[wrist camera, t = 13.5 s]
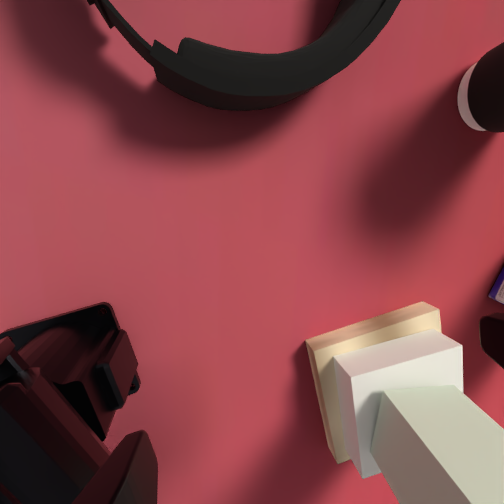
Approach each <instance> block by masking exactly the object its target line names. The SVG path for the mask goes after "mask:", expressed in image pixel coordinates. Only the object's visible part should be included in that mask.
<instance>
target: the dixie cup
mask: <svg viewBox="0 0 504 504" xmlns="http://www.w3.org/2000/svg"><path fill="white" fill-rule="evenodd" d="M457 100H458V109H459V112H460V115H461V117H462V119H463V120H464V122H465V123H466V124H467V125H468V126H469V127H471V128H473V129H475V130H478V131H490V132H504V42H503V43H501V44H500V45H498V46H497V47H495V48H493V49H492V50H490V51H489V52H487V53H486V54H485V55H484V56H483V57H482V58H481V59H480V60H479V61H478V62H477V63H475V64H474V65H472V66H471V67H470V68H469V69H468V70H467V72H466V73H465V75H464V76H463V78H462V80H461V83H460V86H459V90H458V98H457Z"/></svg>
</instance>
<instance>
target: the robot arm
mask: <svg viewBox="0 0 504 504" xmlns="http://www.w3.org/2000/svg"><path fill="white" fill-rule="evenodd" d="M100 308H104V309H106V311H107V313H101V311H100ZM479 331H480V345H481V347H482V349H483V351H484V352H485V353H486V354H487V355H488V356H489V357H491V358H492V359H493V360H494V361H495V362H496V363H497V364H499V365H500V366H501V367H502V368H503V369H504V313H491V314H488V315H485V316H483V317H481V318H480V320H479ZM8 336H10V337H11V338H12V340H10V339H9V337H8ZM137 366H138V362H137V359H136V356H135V354H134V351H133V348H132V346H131V343H130V341H129V338H128V335H127V333H126V331H124V330H123V329H120V326H119V324H118V321H117V318H116V316H115V313H114V310H113V308H112V306H111V305H110V304H109V303H106V302H101V303H98V304H94V305H91V306H87V307H84V308H80V309H77V310H73V311H70V312H66V313H63V314H59V315H56V316H53V317H49V318H46V319H42V320H39V321H35V322H32V323H28V324H25V325H21V326H18V327H14V328H11V329H8V330H6V331H4V332H3V333H1V334H0V504H157V485H158V464H157V458H156V455H155V452H154V450H153V447H152V444H151V442H150V439H149V436H148V434H147V432H146V431H145V430H140V431H137V432H134V433H131V434H128V435H126V436H125V437H124V438H123V440H122V441H121V442H120V443H119V445H118V446H117V447H116V448H115V450H114V451H113V452H112V453H111V452H110V451H109V450H108V448H107V447H106V446H105V445H104V444H103V441H104V440H105V438H106V435H107V433H108V430H109V427H110V425H111V422H112V419H113V416H114V414H115V411H116V410H118V409H121V408H122V407H123V405H124V404H125V401H126V399H127V396H128V395H130V394H133V393H135V392H137V391H138V390H139V387H140V384H141V382H140V379H139V376H138V373H137V371H136V369H137ZM132 383H133V384H135V386H134V387H132V386H131V384H132Z"/></svg>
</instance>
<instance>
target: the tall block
mask: <svg viewBox="0 0 504 504" xmlns="http://www.w3.org/2000/svg"><path fill="white" fill-rule="evenodd" d="M370 453H371V454H372V456H373V458H374V460H375V461H376V463H377V465H378V467H379V468H380V470H381V472H382V474H383V475H384V477H385V479H386V481H387V482H388V484H389V486H390V488H391V489H392V491H393V493H394V495H395V496H396V498H397V500H398V502H399V503H400V504H504V429H503V428H502V427H501V426H499V425H498V424H497V423H496V422H495V421H494V420H493V419H492V418H490V417H489V416H488V415H487V414H486V413H485V412H484V411H483V410H481V409H480V408H479V407H478V406H477V405H476V404H475V403H474V402H472V401H471V400H470V399H469V398H468V397H467V396H466V395H465V394H464V393H462V392H461V391H460V390H459V389H458V388H457V387H456V386H455V385H444V386H431V387H419V388H407V389H395V390H383V393H382V398H381V402H380V407H379V412H378V417H377V422H376V426H375V431H374V436H373V441H372V446H371V450H370Z"/></svg>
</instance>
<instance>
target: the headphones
mask: <svg viewBox="0 0 504 504" xmlns="http://www.w3.org/2000/svg"><path fill="white" fill-rule="evenodd" d="M400 1H401V0H341V1H340V3H339V6H338V8H337V10H336V12H335V14H334V17H333V19H332V20H331V22H330V23H329V25H328V26H327V28H326V30H325V31H324V33H323V34H322V35H321V36H320V37H319V39H318V40H316V41H314V42H313V43H311V44H309V45H307V46H304V47H302V48H299V49H296V50H294V51H289V52H284V53H279V54H259V53H250V52H242V51H233V50H228V49H225V48H221V47H217V46H213V45H210V44H206V43H203V42H200V41H198V40H195V39H192V38H186V37H185V38H184V39H182V40H181V42H180V44H179V48H178V52H177V54H176V53H175V52H173V51H172V50H170V49H169V48H167V47H166V46H164V45H163V44H161V43H160V42H158V41H157V40H154V43H153V46H151V45H149V44H148V43H147V42H146V41H145V40H144V39H143V38H142V37H141V36H140V35H139V34H138V33H137V32H136V31H135V30H134V29H133V28H132V27H131V26H130V25H129V24H128V23H127V21H126V20H125V19H124V18H123V17H122V16H121V15H120V14H119V12H118V11H117V10H116V9H115V8H114V6H113V5H112V4H111V3H110V2H109V0H87V2H88V3H89V5H92V4H94V3H95V5H96V7H97V8H98V10H99V11H100V13H101V15H102V16H103V18H104V19H105V21H106V23H107V24H108V26H109V28H110V29H111V28H112V27H114V26H115V27H116V28H117V29H118V31H119V32H120V33H121V34H122V35H123V36H124V38H125V39H126V40H127V41H128V42H129V44H130V45H131V46H132V47H133V48H134V49H135V50H136V51H137V52H138V53H139V54H140V55H141V56H142V57H143V58H144V59H145V60H146V61H147V62H148V63H149V64H150V65H151V66H153V67H154V71H155V74H156V77H157V81H159V82H160V83H162V84H163V85H165V86H166V87H168V88H169V89H171V90H172V91H174V92H176V93H178V94H180V95H182V96H184V97H186V98H188V99H190V100H193V101H195V102H198V103H200V104H203V105H205V106H208V107H212V108H216V109H222V110H236V111H249V110H260V109H265V108H270V107H274V106H277V105H279V104H282V103H285V102H288V101H290V100H292V99H294V98H296V97H298V96H300V95H301V94H303V93H305V92H307V91H308V90H310V89H312V88H314V87H315V86H317V85H319V84H321V83H323V82H324V81H326V80H328V79H329V78H331V77H332V76H334V75H335V74H337V73H338V72H340V71H341V70H343V69H344V68H346V67H347V66H348V65H349V64H351V63H352V62H353V61H354V60H355V59H356V58H357V57H358V56H359V55H360V54H361V53H362V52H363V51H364V50H365V49H366V48H367V47H368V46H369V45H370V44H371V43H372V42H373V41H374V39H375V38H376V37H377V35H378V34H379V33H380V32H381V30H382V29H383V28H384V26H385V25H386V24H387V23H388V21H389V20H390V18H391V16H392V15H393V13H394V11H395V9H396V8H397V6H398V4H399V3H400Z"/></svg>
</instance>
